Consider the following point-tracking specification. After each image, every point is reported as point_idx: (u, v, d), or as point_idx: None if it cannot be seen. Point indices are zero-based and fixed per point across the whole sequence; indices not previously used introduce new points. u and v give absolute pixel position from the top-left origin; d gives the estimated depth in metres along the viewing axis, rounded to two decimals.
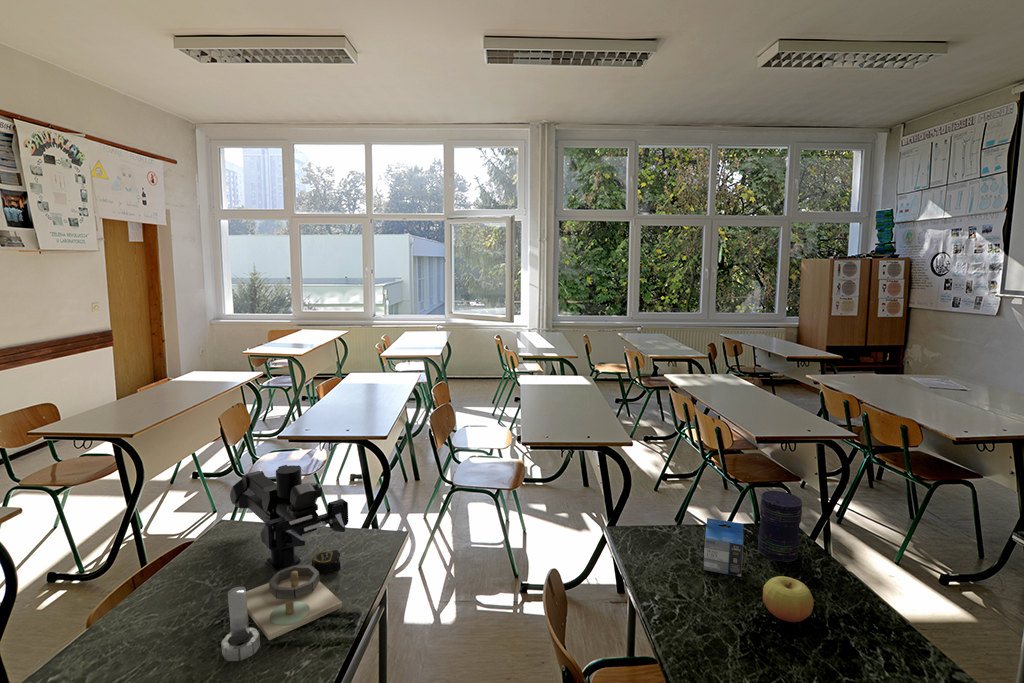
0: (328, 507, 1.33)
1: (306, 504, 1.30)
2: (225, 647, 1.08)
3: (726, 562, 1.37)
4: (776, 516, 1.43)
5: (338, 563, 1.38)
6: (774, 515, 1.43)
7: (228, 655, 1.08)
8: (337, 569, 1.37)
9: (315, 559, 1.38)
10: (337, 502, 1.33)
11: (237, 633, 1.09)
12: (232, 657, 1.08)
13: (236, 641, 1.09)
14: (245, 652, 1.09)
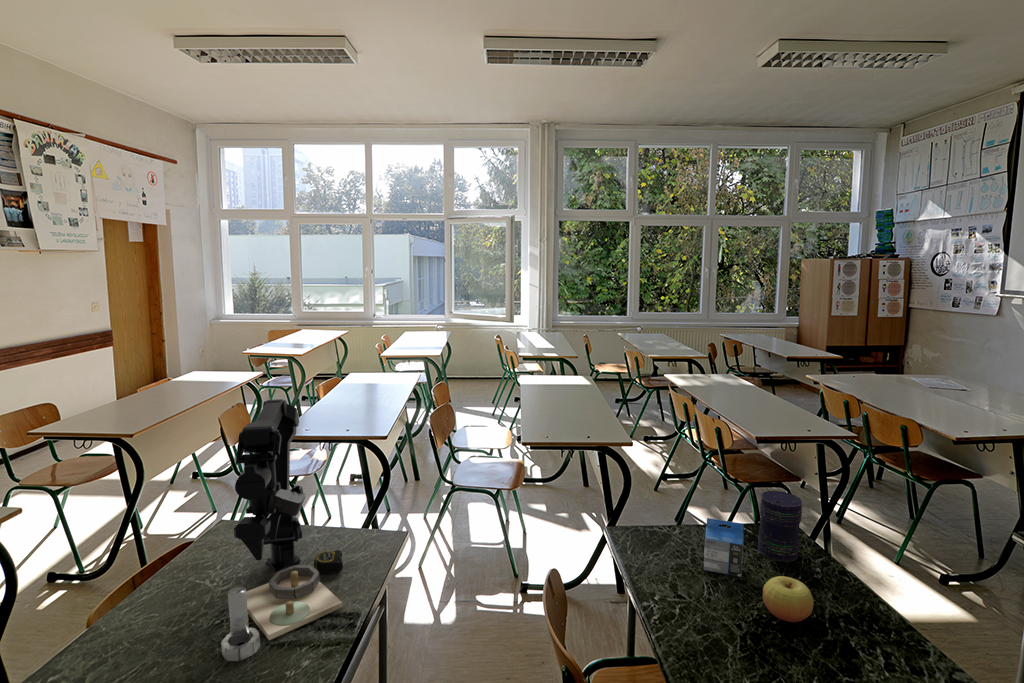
0: None
1: None
2: (225, 647, 1.08)
3: (726, 562, 1.37)
4: (776, 516, 1.43)
5: (340, 563, 1.38)
6: (774, 515, 1.43)
7: (228, 655, 1.08)
8: (339, 569, 1.38)
9: (317, 559, 1.38)
10: None
11: (237, 633, 1.09)
12: (232, 657, 1.08)
13: (236, 641, 1.09)
14: (245, 652, 1.09)
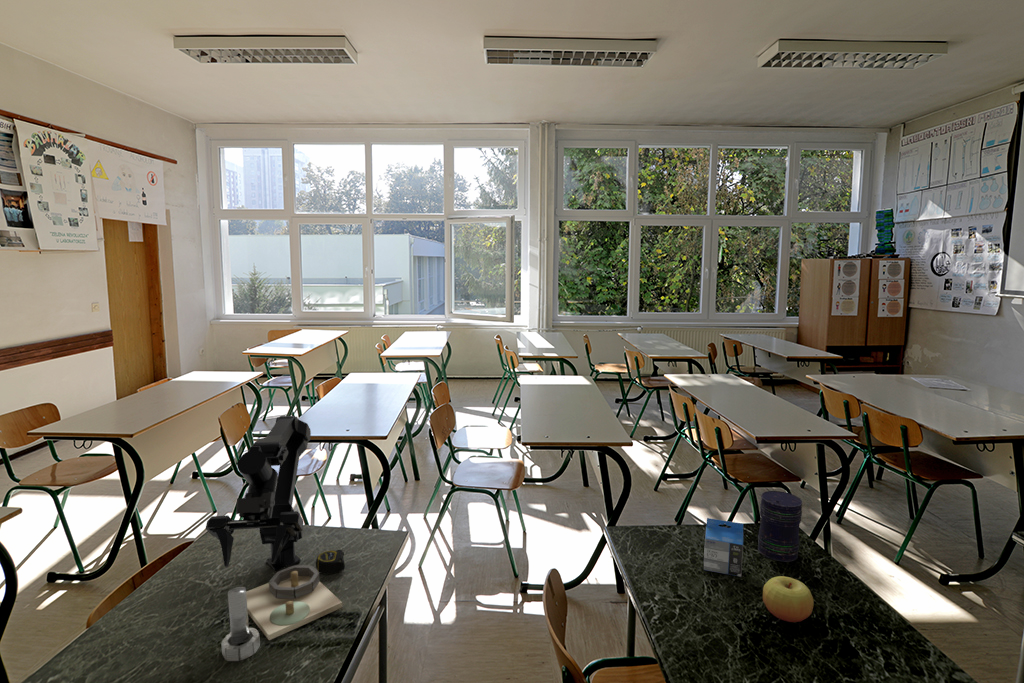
0: None
1: None
2: (225, 647, 1.08)
3: (726, 562, 1.37)
4: (776, 516, 1.43)
5: (342, 562, 1.38)
6: (774, 515, 1.43)
7: (228, 655, 1.08)
8: (341, 568, 1.38)
9: (319, 558, 1.38)
10: (286, 520, 1.20)
11: (237, 633, 1.09)
12: (232, 657, 1.08)
13: (236, 641, 1.09)
14: (245, 652, 1.09)
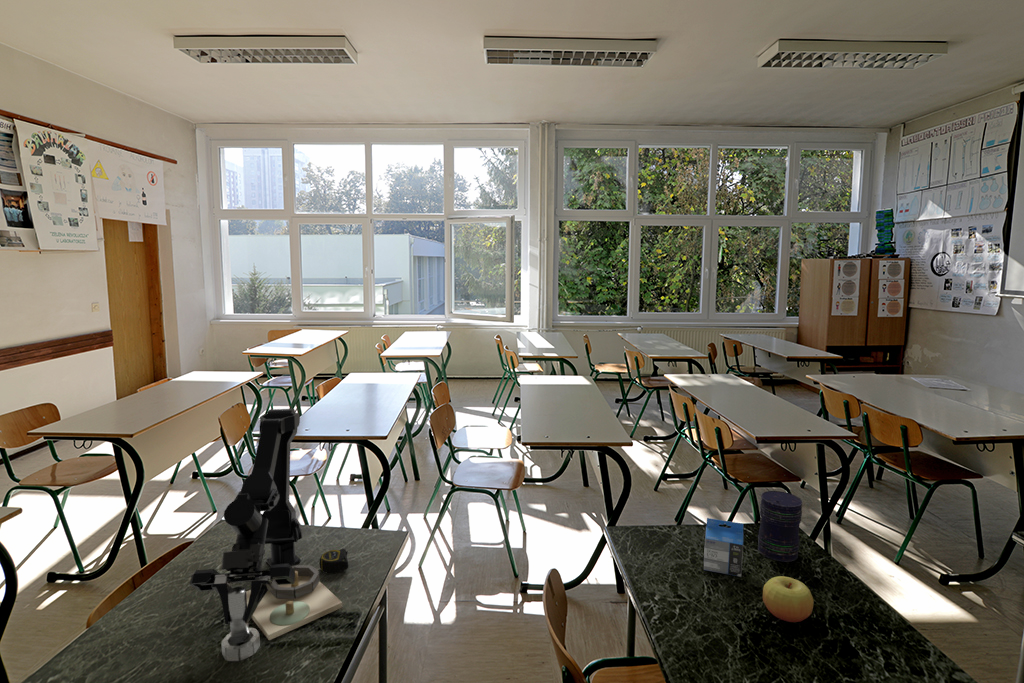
0: None
1: None
2: (225, 647, 1.08)
3: (726, 562, 1.37)
4: (776, 516, 1.43)
5: (346, 562, 1.38)
6: (774, 515, 1.43)
7: (228, 655, 1.08)
8: (345, 568, 1.38)
9: (323, 558, 1.39)
10: (276, 574, 1.12)
11: (237, 633, 1.09)
12: (232, 657, 1.08)
13: (236, 641, 1.09)
14: (245, 652, 1.09)
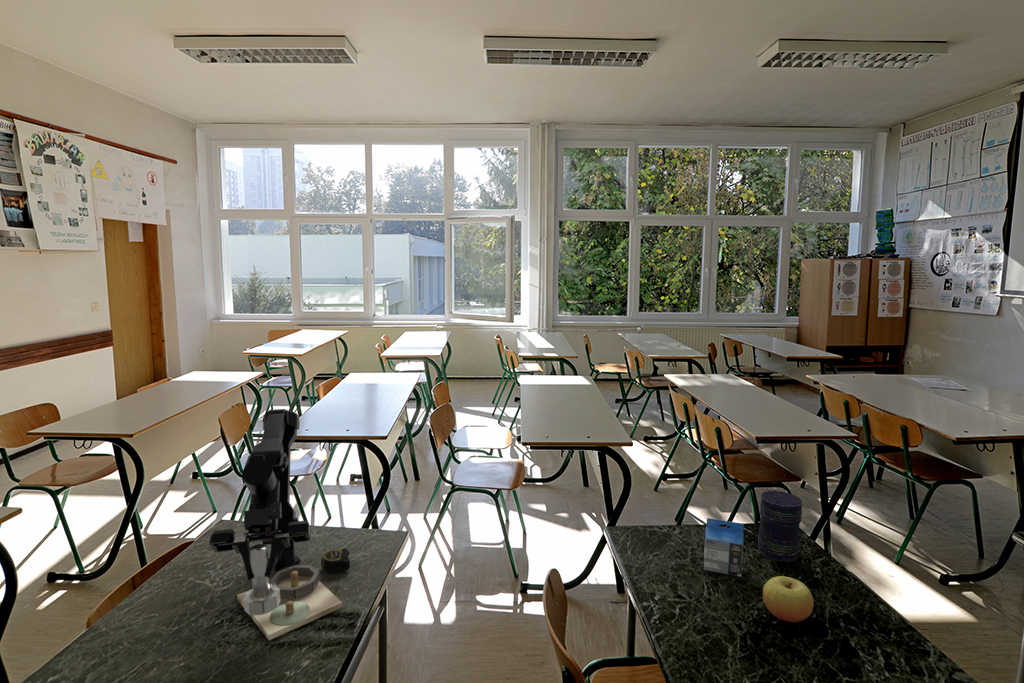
0: None
1: None
2: (248, 602, 1.11)
3: (726, 562, 1.37)
4: (776, 516, 1.43)
5: (347, 561, 1.39)
6: (774, 515, 1.43)
7: (252, 610, 1.11)
8: (346, 567, 1.38)
9: (324, 557, 1.39)
10: (296, 530, 1.16)
11: (260, 588, 1.12)
12: (256, 612, 1.11)
13: (259, 596, 1.12)
14: (268, 606, 1.12)
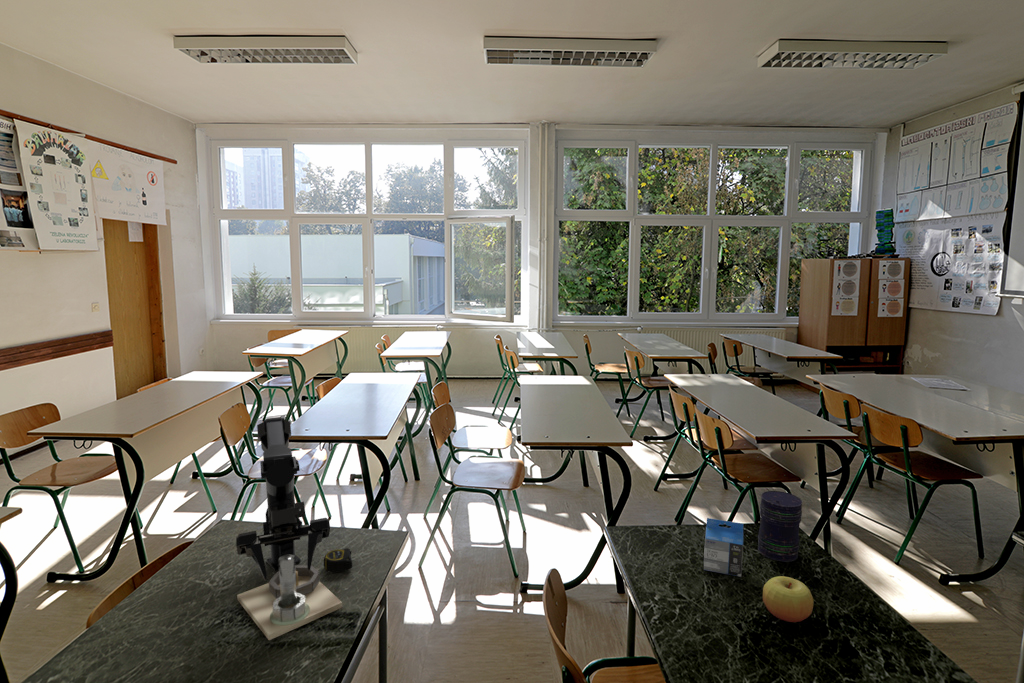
0: (310, 523, 1.24)
1: (285, 523, 1.21)
2: (279, 610, 1.17)
3: (726, 562, 1.37)
4: (776, 516, 1.43)
5: (350, 561, 1.39)
6: (774, 515, 1.43)
7: (283, 617, 1.17)
8: (349, 567, 1.38)
9: (327, 557, 1.39)
10: (319, 527, 1.23)
11: (289, 596, 1.19)
12: (287, 618, 1.18)
13: (288, 604, 1.19)
14: (298, 612, 1.19)
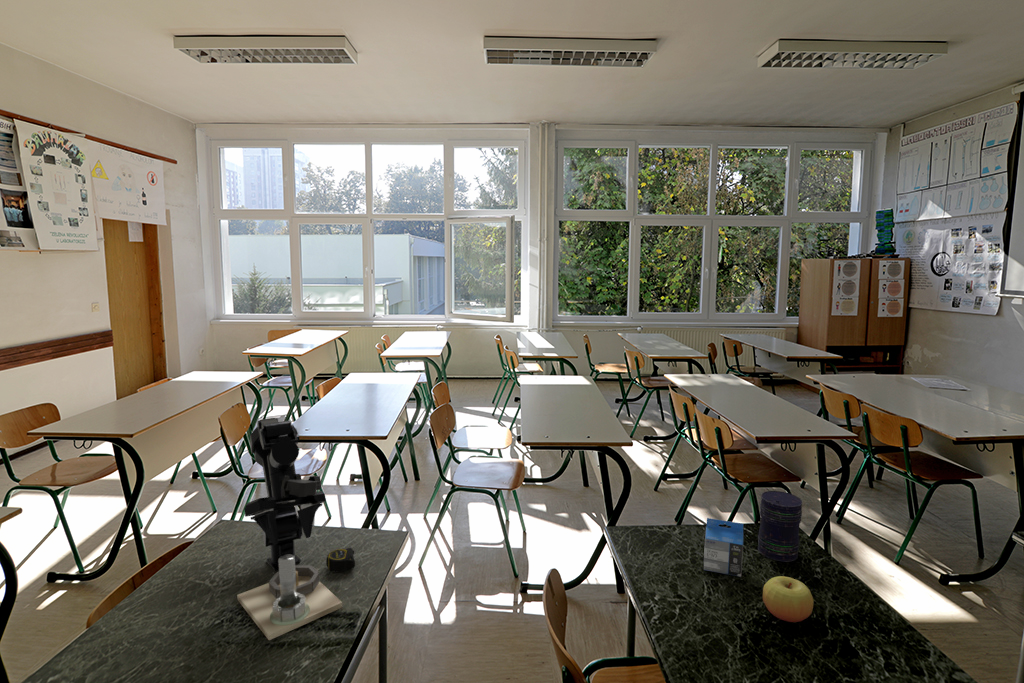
0: (310, 495, 1.35)
1: None
2: (279, 610, 1.17)
3: (726, 562, 1.37)
4: (776, 516, 1.43)
5: (352, 561, 1.39)
6: (774, 515, 1.43)
7: (283, 617, 1.17)
8: (352, 566, 1.39)
9: (330, 557, 1.39)
10: (319, 499, 1.35)
11: (289, 596, 1.19)
12: (287, 618, 1.18)
13: (288, 604, 1.19)
14: (298, 612, 1.19)
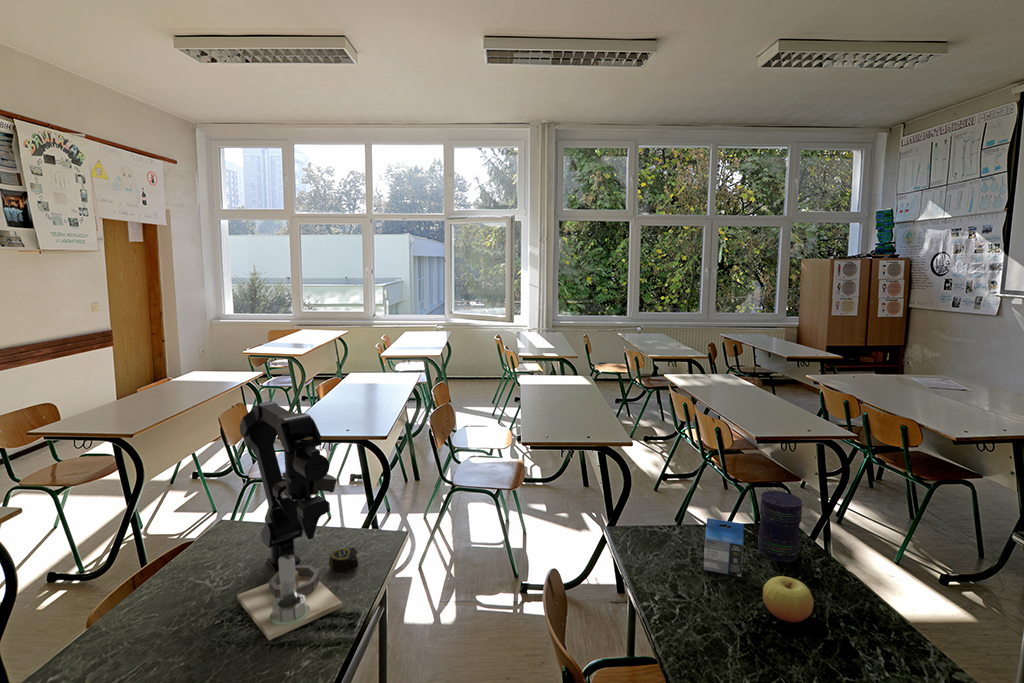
0: None
1: None
2: (279, 610, 1.17)
3: (726, 562, 1.37)
4: (776, 516, 1.43)
5: (356, 560, 1.39)
6: (774, 515, 1.43)
7: (283, 617, 1.17)
8: (355, 566, 1.39)
9: (333, 556, 1.40)
10: None
11: (289, 596, 1.19)
12: (287, 618, 1.18)
13: (288, 604, 1.19)
14: (298, 612, 1.19)
